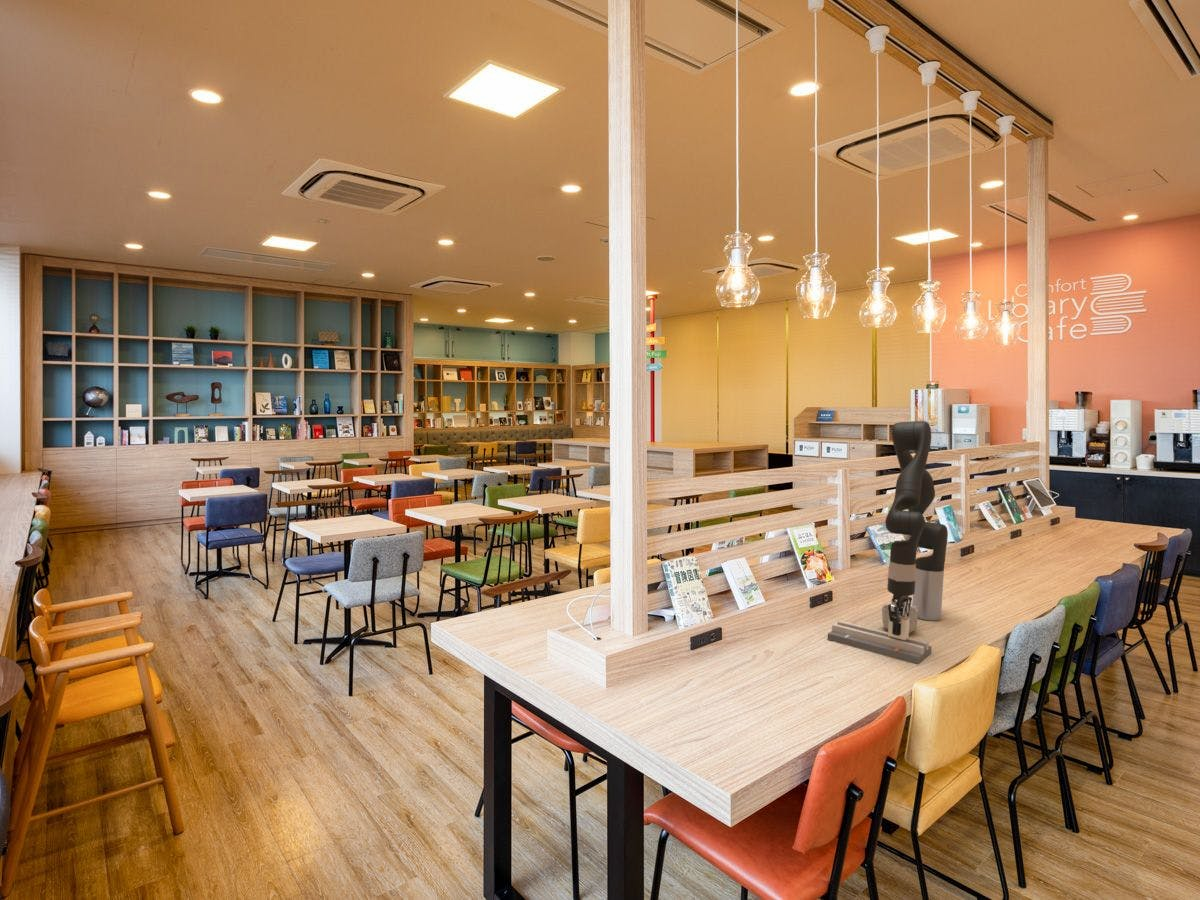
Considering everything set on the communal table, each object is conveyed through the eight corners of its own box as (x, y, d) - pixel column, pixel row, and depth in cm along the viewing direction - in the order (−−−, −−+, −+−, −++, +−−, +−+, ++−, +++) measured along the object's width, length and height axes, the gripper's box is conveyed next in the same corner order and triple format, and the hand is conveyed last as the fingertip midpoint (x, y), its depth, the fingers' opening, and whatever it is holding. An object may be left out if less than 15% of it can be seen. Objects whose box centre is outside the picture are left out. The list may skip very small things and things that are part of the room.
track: (843, 630, 220) (843, 618, 220) (931, 652, 202) (932, 640, 202) (827, 639, 211) (828, 627, 211) (918, 664, 193) (918, 650, 193)
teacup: (895, 638, 214) (897, 613, 213) (873, 626, 224) (874, 603, 224) (932, 634, 218) (933, 610, 217) (908, 623, 228) (909, 600, 228)
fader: (891, 640, 206) (892, 614, 205) (908, 644, 202) (909, 618, 201) (887, 642, 203) (889, 616, 203) (904, 647, 200) (906, 620, 199)
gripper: (897, 570, 209) (893, 624, 210) (880, 578, 198) (876, 635, 200) (922, 575, 204) (919, 630, 205) (906, 584, 193) (903, 642, 195)
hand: (898, 633), depth 202 cm, fingers closed on fader, 3 cm apart
